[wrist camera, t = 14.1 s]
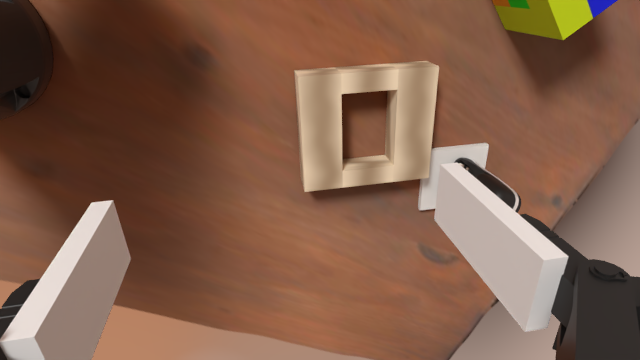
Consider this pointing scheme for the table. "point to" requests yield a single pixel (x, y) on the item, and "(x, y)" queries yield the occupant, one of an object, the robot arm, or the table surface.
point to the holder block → (401, 123)
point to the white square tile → (444, 157)
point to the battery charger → (492, 183)
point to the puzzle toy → (548, 15)
